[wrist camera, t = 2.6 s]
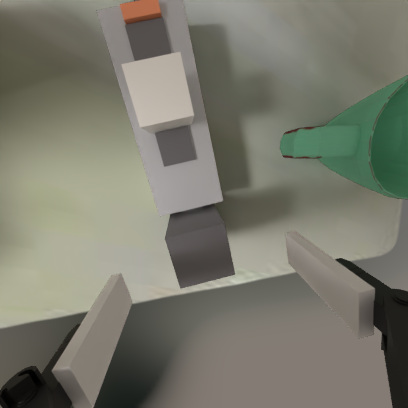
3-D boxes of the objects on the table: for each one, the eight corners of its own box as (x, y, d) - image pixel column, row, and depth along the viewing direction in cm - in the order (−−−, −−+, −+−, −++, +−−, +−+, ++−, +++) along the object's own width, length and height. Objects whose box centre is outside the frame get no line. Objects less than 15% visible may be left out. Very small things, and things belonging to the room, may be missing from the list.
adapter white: (150, 133, 18) (140, 127, 14) (137, 86, 17) (121, 64, 13) (191, 124, 18) (194, 115, 14) (181, 77, 17) (180, 51, 13)
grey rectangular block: (182, 243, 25) (180, 289, 17) (165, 183, 23) (153, 201, 14) (218, 234, 26) (235, 275, 17) (204, 173, 23) (216, 186, 15)
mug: (374, 99, 23) (509, 61, 14) (361, 179, 26) (466, 195, 16) (257, 104, 22) (314, 65, 12) (256, 187, 25) (302, 209, 15)
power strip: (163, 206, 24) (158, 218, 20) (67, -118, 16) (23, -221, 12) (217, 193, 24) (224, 202, 20) (149, -132, 16) (136, -239, 12)
